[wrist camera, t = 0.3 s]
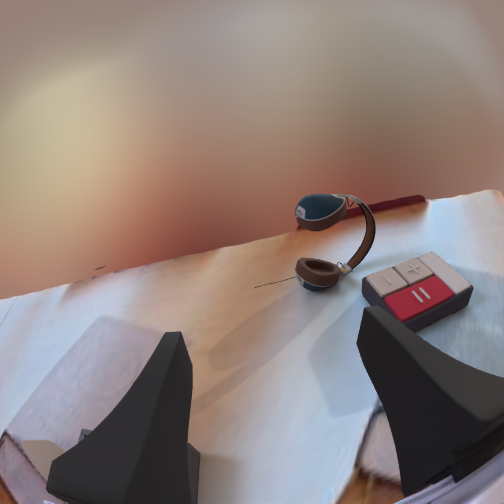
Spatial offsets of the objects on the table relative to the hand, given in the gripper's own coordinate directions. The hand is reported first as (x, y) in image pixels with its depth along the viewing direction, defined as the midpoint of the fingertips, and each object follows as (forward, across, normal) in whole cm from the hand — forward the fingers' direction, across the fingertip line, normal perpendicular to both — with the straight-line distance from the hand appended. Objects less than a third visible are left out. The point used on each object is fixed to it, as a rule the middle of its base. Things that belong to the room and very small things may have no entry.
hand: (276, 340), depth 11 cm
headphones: (+29, -11, +19) cm, 36 cm away
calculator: (+20, -25, +18) cm, 36 cm away
